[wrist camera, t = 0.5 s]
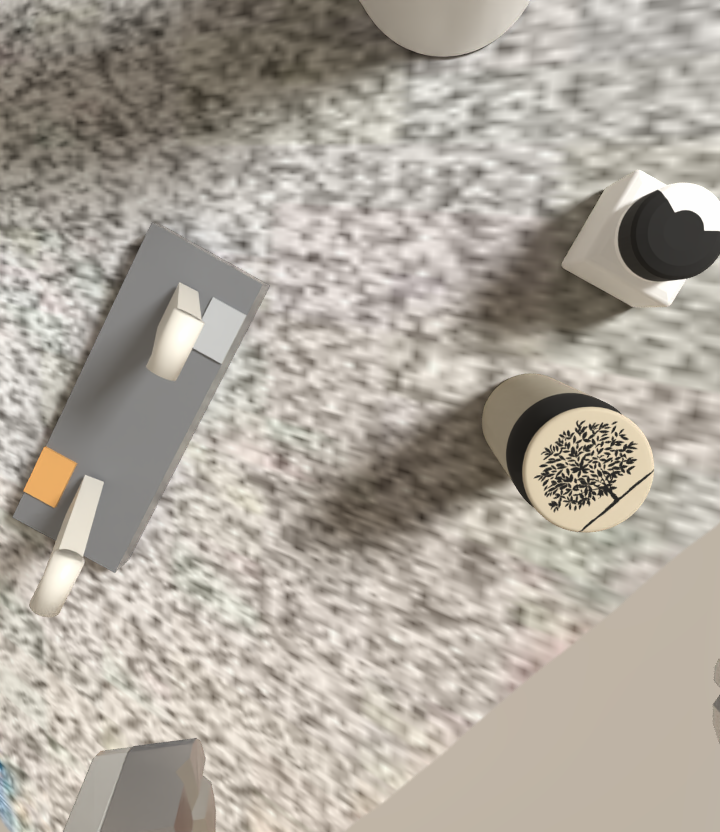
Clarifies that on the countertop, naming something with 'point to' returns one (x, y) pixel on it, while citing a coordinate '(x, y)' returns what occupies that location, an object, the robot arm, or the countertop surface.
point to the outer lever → (68, 551)
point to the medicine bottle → (646, 239)
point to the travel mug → (568, 452)
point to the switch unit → (139, 396)
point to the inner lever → (176, 333)
